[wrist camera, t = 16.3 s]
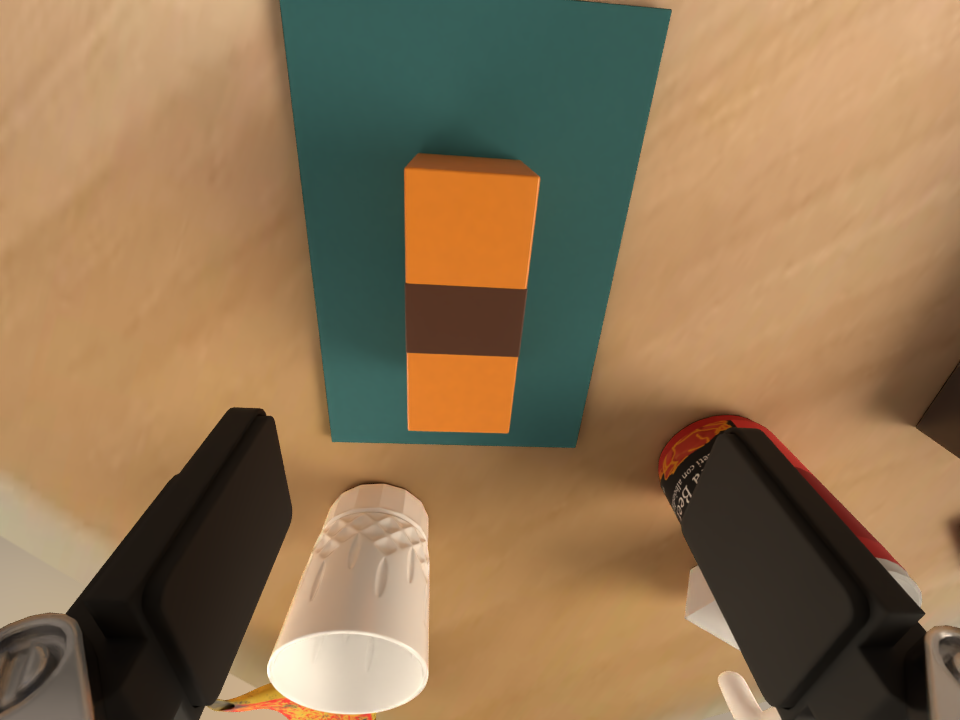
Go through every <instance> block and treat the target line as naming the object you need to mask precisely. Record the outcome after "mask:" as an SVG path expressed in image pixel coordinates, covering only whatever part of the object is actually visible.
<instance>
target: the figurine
mask: <svg viewBox="0 0 960 720" xmlns="http://www.w3.org/2000/svg"><path fill="white" fill-rule="evenodd" d="M685 619H687V620H688V621H690V622H692V623H694V624H695V625H697V626H699V627H700V628H702V629H704V630H706V631H707V632H709V633H711V634H712V635H714V636H716V637H718V638H719V639H721V640H723V641H724V642H726V643H728V644H729V645H731V646H733V647H735V648H736V649H738V650H740V649H739V647H738V645H737V643H736V641H735V639H734V637H733V635H732V633H731V631H730V629H729V627H728V624H727V622H726V620H725V618H724V616H723V614H722V612H721V610H720V608H719V606H718V604H717V602H716V600H715V598H714V596H713V594H712V592H711V590H710V588H709V586H708V584H707V582H706V580H705V578H704V576H703V574H702V572H701V570H700V568H699V566H698V565H697V566H696V567H694V568H692V569H691V570H690V575H689V583H688V592H687V601H686V610H685ZM718 683H719V686H720V689H721V691H722V693H723V696H724V698H725V700H726V702H727V705H728V707H729V709H730V711H731V713H732V716H733V718H734V720H782V719H781V717H780V715H779V713H778V711H777V710H776V708H775V707H771V708H769V709H767V710H765V711H762V710H761V708H760V707H759V706H758V704H757V702H756V700H755V698H754V696H753V694H752V693H751V691H750V689H749V687H748V685H747V683H746V681H745V680H744V679H743V677H742V676H741V675H739V674H738V673H736V672H733V671H725V672H722V673H721V674H720V675H719V676H718Z"/></svg>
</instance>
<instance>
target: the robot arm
mask: <svg viewBox="0 0 960 720" xmlns="http://www.w3.org/2000/svg"><path fill="white" fill-rule="evenodd" d="M291 519H292V505H291V500H290V495H289V490H288V485H287V480H286V475H285V470H284V465H283V460H282V455H281V450H280V445H279V440H278V435H277V430H276V425H275V421H274V418H273V417H272V416H266V413H265V411H264V410H263V409H260V408H235V407H233V408H230V409H229V410H228V411H227V412H226V413H225V415H224V416H223V417H222V419H221V420H220V421H219V423H218V424H217V425H216V426H215V428H214V429H213V430H212V432H211V433H210V434H209V436H208V437H207V438H206V439H205V441H204V442H203V443H202V445H201V446H200V447H199V449H198V450H197V451H196V452H195V454H194V455H193V456H192V458H191V459H190V460H189V462H188V463H187V464H186V465H185V467H184V468H183V469H182V471H181V472H180V473H179V474H177V475H175V476H174V477H173V478H172V479H171V480H170V481H169V482H168V483H167V484H166V486H165V487H164V488H163V490H162V491H161V492H160V493H159V495H158V496H157V497H156V499H155V500H154V501H153V502H152V504H151V505H150V506H149V507H148V509H147V510H146V511H145V513H144V514H143V515H142V516H141V518H140V519H139V520H138V522H137V523H136V524H135V525H134V527H133V528H132V529H131V531H130V532H129V533H128V534H127V536H126V537H125V538H124V540H123V541H122V542H121V543H120V545H119V546H118V547H117V549H116V550H115V551H114V552H113V554H112V555H111V556H110V557H109V559H108V560H107V561H106V563H105V564H104V565H103V566H102V568H101V569H100V570H99V572H98V573H97V574H96V575H95V577H94V578H93V579H92V581H91V582H90V583H89V584H88V586H87V587H86V588H85V590H84V591H83V592H82V594H81V595H80V596H79V597H78V599H77V600H76V601H75V602H74V604H73V605H72V606H71V607H70V609H69V610H68V611H67V613H66V614H59V613H45V614H39V615H33V616H29V617H27V618H24V619H21V620H19V621H16V622H13V623H10V624H8V625H6V626H5V627H3V628H1V629H0V720H199V719H200V716H201V714H202V712H203V709H204V707H205V706H210V705H212V704H213V703H214V702H215V701H216V700H217V698H218V696H219V694H220V692H221V690H222V687H223V685H224V682H225V680H226V678H227V675H228V673H229V671H230V668H231V666H232V663H233V661H234V658H235V656H236V654H237V651H238V649H239V646H240V644H241V642H242V639H243V637H244V634H245V632H246V630H247V627H248V625H249V622H250V620H251V618H252V615H253V613H254V610H255V608H256V606H257V603H258V601H259V598H260V596H261V594H262V591H263V589H264V586H265V584H266V581H267V579H268V577H269V574H270V572H271V569H272V567H273V565H274V562H275V560H276V557H277V555H278V553H279V550H280V548H281V545H282V543H283V541H284V538H285V536H286V533H287V531H288V529H289V526H290V523H291ZM681 528H682V533H683V536H684V538H685V540H686V542H687V544H688V546H689V548H690V550H691V552H692V554H693V556H694V558H695V560H696V562H697V564H698V566H699V568H700V570H701V572H702V574H703V576H704V578H705V580H706V582H707V584H708V586H709V588H710V590H711V592H712V594H713V596H714V598H715V600H716V602H717V604H718V606H719V608H720V610H721V612H722V614H723V616H724V618H725V620H726V622H727V624H728V627H729V629H730V631H731V633H732V635H733V637H734V639H735V641H736V643H737V645H738V647H739V649H740V651H741V653H742V655H743V657H744V659H745V661H746V663H747V665H748V667H749V669H750V671H751V673H752V675H753V677H754V679H755V681H756V683H757V685H758V687H759V689H760V691H761V693H762V695H763V696H764V698H765V700H766V701H767V702H768V703H769V704H770V705H771V706H773V707H775V708H776V710H777V711H778V713H779V715H780V717H781V719H782V720H960V628H957V627H952V626H948V625H945V626H934V627H933V628H932V629H930V630H929V631H927V632H926V631H925V630H924V628H923V627H922V626H921V625H920V624H919V623H918V621H919V620H920V619H921V618H922V617H923V616H924V615H925V612H924V611H923V610H922V609H921V608H920V607H919V606H918V605H917V603H916V602H915V601H914V600H913V599H912V598H911V597H910V596H909V595H908V593H907V592H906V591H905V590H904V589H903V588H902V587H901V586H900V584H899V583H898V582H897V581H896V580H895V579H894V578H893V577H892V575H891V574H890V573H889V572H888V571H887V570H886V569H885V568H884V566H883V565H882V564H881V563H880V562H879V561H878V560H877V559H876V558H875V556H874V555H873V554H872V553H871V552H870V551H869V550H868V549H867V547H866V546H865V545H864V544H863V543H862V542H861V541H860V540H859V538H858V537H857V536H856V535H855V534H854V533H853V532H852V531H851V530H850V528H849V527H848V526H847V525H846V524H845V523H844V522H843V521H842V519H841V518H840V517H839V516H838V515H837V514H836V513H835V512H834V510H833V509H832V508H831V507H830V506H829V505H828V504H827V503H826V501H825V500H824V499H823V498H822V497H821V496H820V495H819V494H818V493H817V491H816V490H815V489H814V488H813V487H812V486H811V485H810V484H809V482H808V481H807V480H806V479H805V478H804V477H803V476H802V475H801V473H800V472H799V471H798V470H797V469H796V468H795V467H794V466H793V465H792V463H791V462H790V461H789V460H788V459H787V458H786V457H785V456H784V454H783V453H782V452H781V451H780V450H779V449H778V448H777V447H776V445H775V444H774V443H773V442H772V441H771V440H770V439H769V438H768V437H767V435H766V434H765V433H764V432H763V431H761V430H760V429H757V428H738V427H731V428H728V429H726V430H725V432H724V433H723V434H720V435H718V436H717V438H716V440H715V442H714V445H713V447H712V449H711V452H710V454H709V456H708V459H707V461H706V463H705V466H704V468H703V470H702V473H701V475H700V477H699V480H698V482H697V484H696V487H695V489H694V491H693V494H692V496H691V498H690V501H689V503H688V505H687V508H686V510H685V513H684V515H683V517H682V521H681Z"/></svg>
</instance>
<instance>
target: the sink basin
mask: <svg viewBox="0 0 960 720" xmlns="http://www.w3.org/2000/svg"><path fill="white" fill-rule="evenodd" d="M916 428H917V429H918V430H920V431H921V432H923V433H924V434H925V435H927V436H928V437H930V438H931V439H933V440H934V441H935V442H937V443H938V444H940V445H941V446H943V447H944V448H945V449H947V450H948V451H950V452H951V453H953V454H954V455H955V456H957V457H958V458H960V363H959V364H958V366H957V367H956V369H955V370H954V372H953V373H952V375H951V376H950V377H949V379H948V380H947V382H946V383H945V385H944V386H943V388H942V389H941V391H940V392H939V394H938V395H937V397H936V398H935V400H934V401H933V403H932V404H931V406H930V407H929V409H928V410H927V411H926V413H925V414H924V416H923V417H922V419H921V420H920V422H919V423H918V425H917V426H916Z"/></svg>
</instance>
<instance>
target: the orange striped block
mask: <svg viewBox="0 0 960 720" xmlns="http://www.w3.org/2000/svg"><path fill="white" fill-rule="evenodd" d="M539 186H540V176H538V175H537V174H536V173H535V172H534V171H532V170H531V169H530V168H529V167H528V166H527V165H525V164H524V163H523V162H522V161H520V160H511V159H497V158H482V157H468V156H454V155H439V154H425V153H418V154H417V155H416V156H415V157H414V158H413V159H412V160H411V161H410V162H409V164H408V165H407V166H406V167H405V168H404V208H405V278H406V281H405V341H406V353H407V419H408V430H409V431H439V432H477V433H508V432H509V428H510V420H511V412H512V403H513V395H514V387H515V379H516V371H517V363H518V357H519V355H520V347H521V339H522V331H523V323H524V315H525V307H526V299H527V291H528V290H527V283H528V275H529V267H530V259H531V251H532V243H533V234H534V226H535V218H536V210H537V202H538V194H539Z"/></svg>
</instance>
